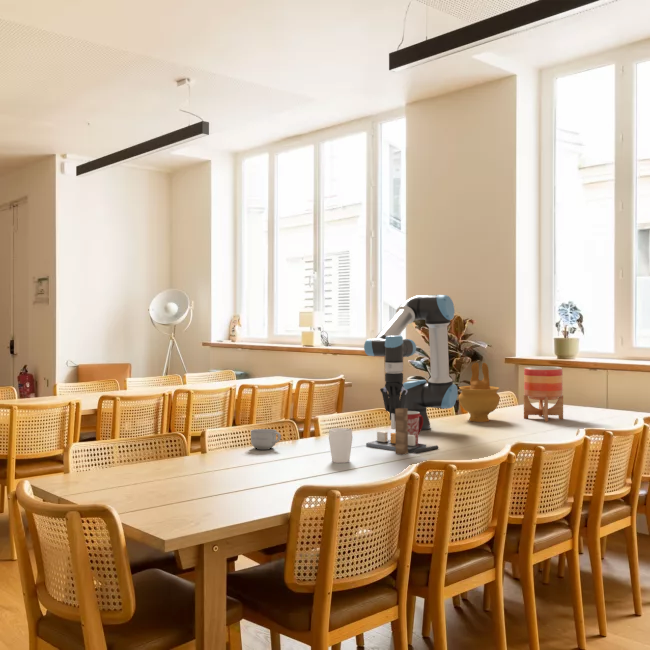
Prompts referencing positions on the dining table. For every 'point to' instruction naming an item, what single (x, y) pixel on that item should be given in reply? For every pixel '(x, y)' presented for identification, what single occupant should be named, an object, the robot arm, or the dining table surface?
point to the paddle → (382, 436)
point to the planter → (543, 390)
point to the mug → (414, 424)
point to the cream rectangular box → (411, 440)
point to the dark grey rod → (426, 449)
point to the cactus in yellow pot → (479, 395)
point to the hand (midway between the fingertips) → (394, 428)
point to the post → (401, 430)
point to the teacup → (264, 438)
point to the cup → (340, 444)
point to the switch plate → (392, 445)
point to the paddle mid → (393, 438)
